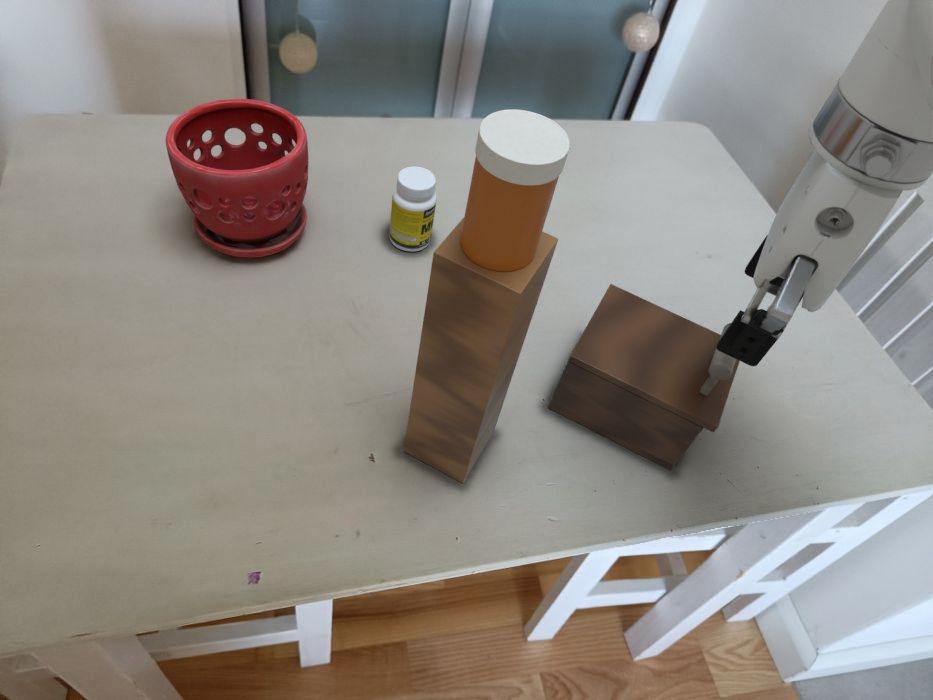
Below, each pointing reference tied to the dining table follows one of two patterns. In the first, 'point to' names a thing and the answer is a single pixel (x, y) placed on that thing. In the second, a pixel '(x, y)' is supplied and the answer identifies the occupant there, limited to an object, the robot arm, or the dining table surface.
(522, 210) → the pill bottle
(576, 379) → the chest
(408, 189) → the supplement bottle
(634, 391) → the lid
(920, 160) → the robot arm
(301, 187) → the flower pot
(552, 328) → the dining table surface
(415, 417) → the stand
